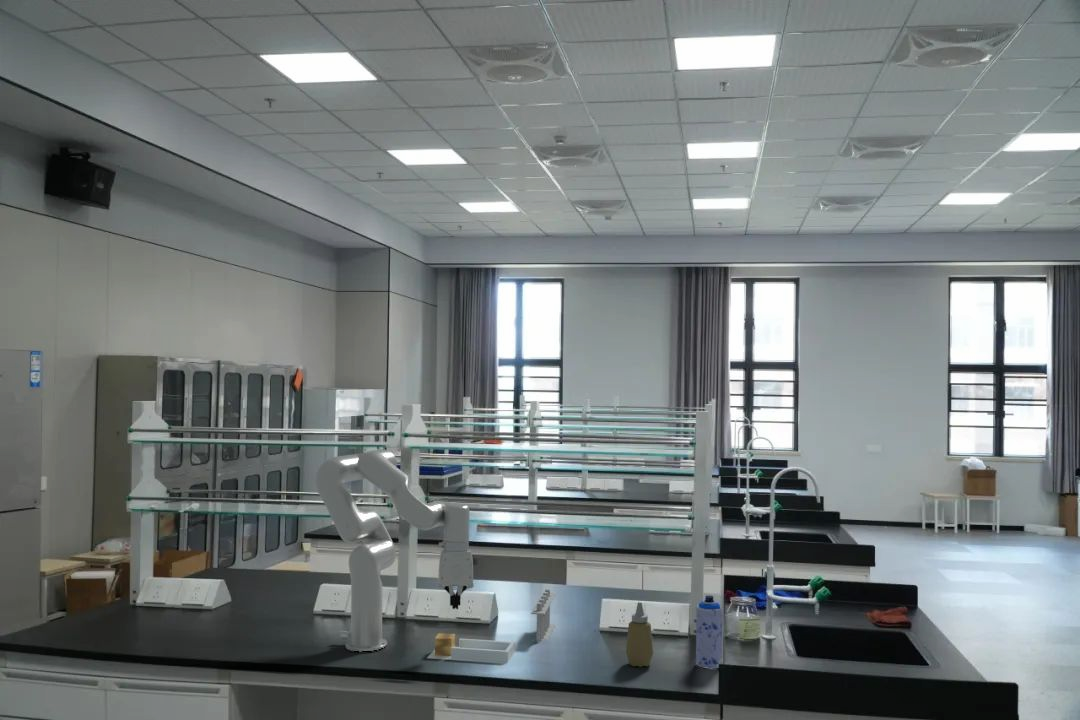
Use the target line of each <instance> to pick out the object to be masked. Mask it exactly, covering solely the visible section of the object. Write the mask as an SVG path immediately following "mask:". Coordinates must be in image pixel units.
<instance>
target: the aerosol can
mask: <svg viewBox="0 0 1080 720" xmlns="http://www.w3.org/2000/svg"><path fill="white" fill-rule="evenodd" d="M695 619H696V620H695V621H696V622H695V624H696V625H695V629H696V630H695V631H696V633H695V634H696V639H695V640H696V641H695V645H696V646H695V657H696V658H695V662H696V664H697V665H698V666H701V667H708V668H716V667H717V664H718V662H719V661H720V659H721V658H722V659H723V607H722V606H721V605H720V603H719V602H717V601H716V600H714V596H712V595H705V599H703V600H702V601H700V602H699V603H698V604H697V606H696V618H695ZM696 664H695V665H696Z"/></svg>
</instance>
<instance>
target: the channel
mask: <svg viewBox="0 0 1080 720" xmlns="http://www.w3.org/2000/svg"><path fill="white" fill-rule="evenodd" d="M515 653H516V642H515V641H505V640H504V641H503V640H490V639H489V640H488V639H473V638H463V637H462V638H459V639H458V646H455V647H451V656H440V655H435V649H434V650H433V651H432V652H431V653H430V654H429V655H428V656H427V657H426V659H434V660H445V661H447V660H448V661H449V660H450V661H460V662H461V661H462V662H472V663H473V662H477V663H489V664H490V663H491V664H502V665H507V664H508V663H509V661H510V660H511V659H512V657H513V656H514V654H515Z"/></svg>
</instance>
